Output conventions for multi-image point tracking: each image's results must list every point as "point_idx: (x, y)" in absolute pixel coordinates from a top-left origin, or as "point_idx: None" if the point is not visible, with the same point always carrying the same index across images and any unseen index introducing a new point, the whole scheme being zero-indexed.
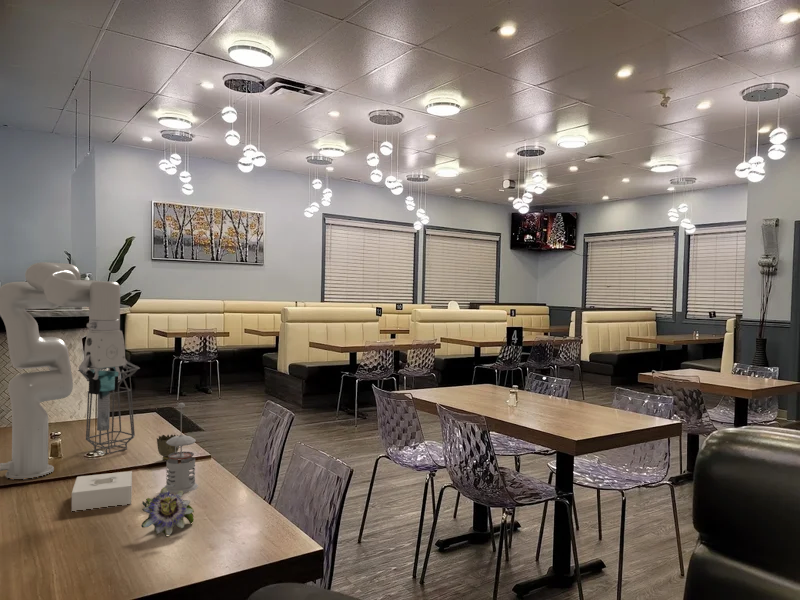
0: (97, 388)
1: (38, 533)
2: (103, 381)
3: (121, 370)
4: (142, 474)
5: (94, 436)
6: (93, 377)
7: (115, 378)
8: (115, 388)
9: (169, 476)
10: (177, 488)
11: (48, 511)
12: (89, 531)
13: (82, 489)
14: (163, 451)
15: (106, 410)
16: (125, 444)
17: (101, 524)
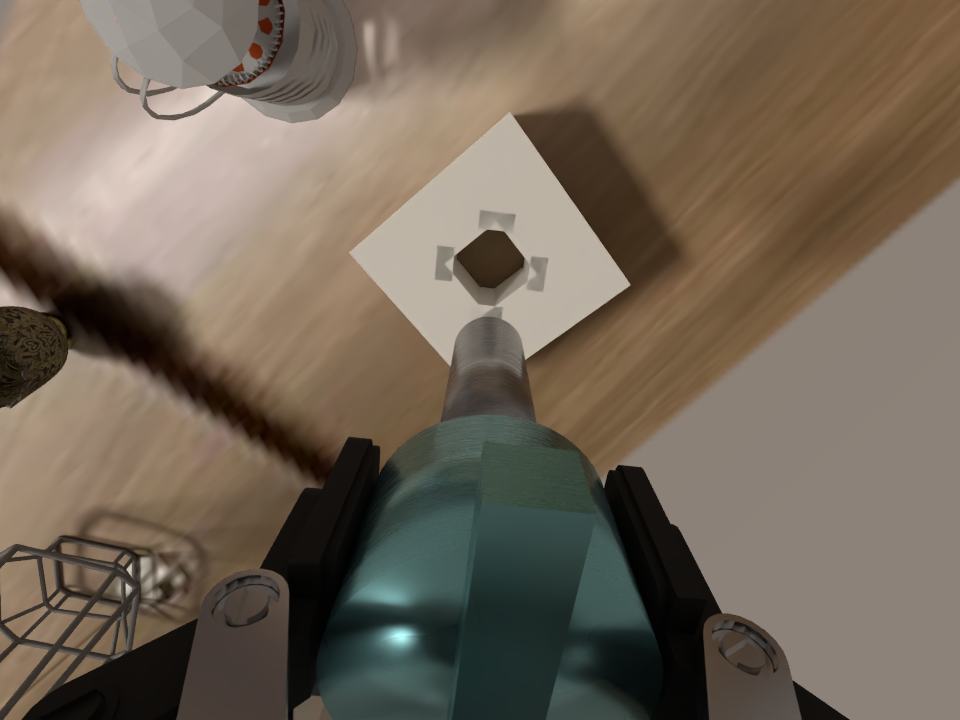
0: (660, 507)
1: (787, 230)
2: (613, 542)
3: (118, 664)
4: (233, 307)
5: (90, 652)
6: (778, 665)
7: (342, 550)
8: (374, 458)
9: (276, 103)
10: (330, 14)
11: (622, 340)
12: (762, 74)
13: (592, 274)
14: (56, 341)
15: (504, 368)
16: (51, 550)
17: (699, 80)
